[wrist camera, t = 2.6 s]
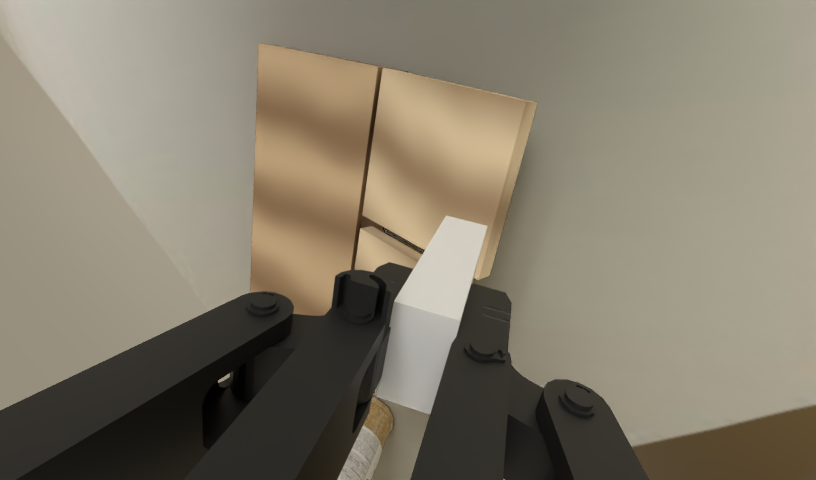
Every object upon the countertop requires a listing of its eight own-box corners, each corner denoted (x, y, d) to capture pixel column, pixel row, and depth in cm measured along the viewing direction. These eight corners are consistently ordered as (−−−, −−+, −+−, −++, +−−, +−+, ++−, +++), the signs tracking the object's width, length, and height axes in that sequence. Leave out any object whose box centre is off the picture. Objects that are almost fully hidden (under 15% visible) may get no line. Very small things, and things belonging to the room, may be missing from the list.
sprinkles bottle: (372, 442, 39) (301, 607, 27) (335, 408, 39) (247, 559, 27) (405, 419, 37) (345, 586, 25) (367, 383, 37) (287, 534, 25)
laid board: (272, 45, 29) (258, 43, 28) (408, 71, 28) (401, 71, 26) (260, 301, 37) (249, 310, 36) (366, 333, 35) (359, 344, 34)
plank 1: (395, 69, 27) (382, 68, 26) (537, 102, 21) (526, 101, 20) (374, 213, 31) (362, 214, 30) (489, 275, 25) (478, 280, 24)
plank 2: (372, 226, 31) (360, 228, 30) (485, 290, 25) (474, 295, 24) (355, 335, 35) (344, 340, 34) (450, 415, 29) (440, 422, 28)
